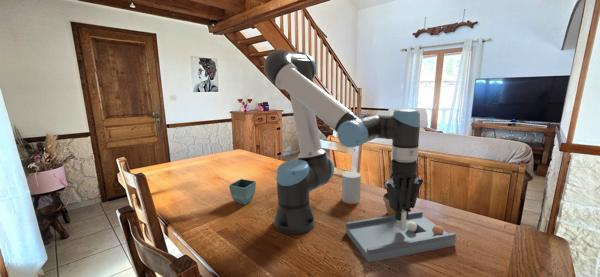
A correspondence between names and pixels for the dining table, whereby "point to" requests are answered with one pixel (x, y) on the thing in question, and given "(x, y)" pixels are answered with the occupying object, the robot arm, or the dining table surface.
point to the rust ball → (438, 230)
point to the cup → (351, 187)
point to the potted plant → (385, 197)
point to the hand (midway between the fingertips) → (401, 228)
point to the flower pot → (242, 190)
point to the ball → (411, 226)
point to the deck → (395, 237)
